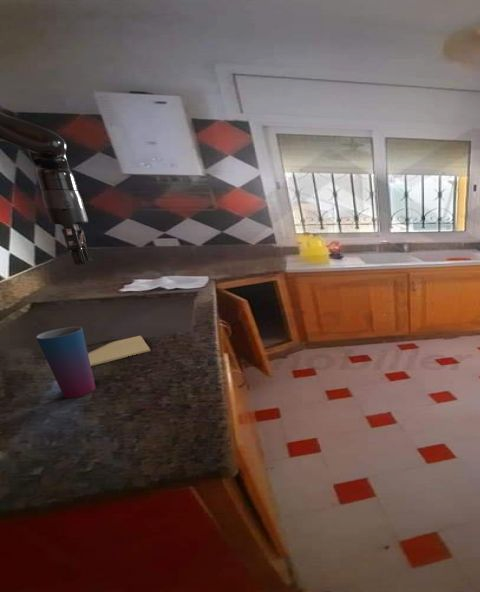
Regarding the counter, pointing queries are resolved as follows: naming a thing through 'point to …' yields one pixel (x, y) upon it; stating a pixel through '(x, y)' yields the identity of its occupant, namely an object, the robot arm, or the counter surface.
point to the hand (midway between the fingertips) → (82, 262)
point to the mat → (118, 350)
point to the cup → (68, 360)
